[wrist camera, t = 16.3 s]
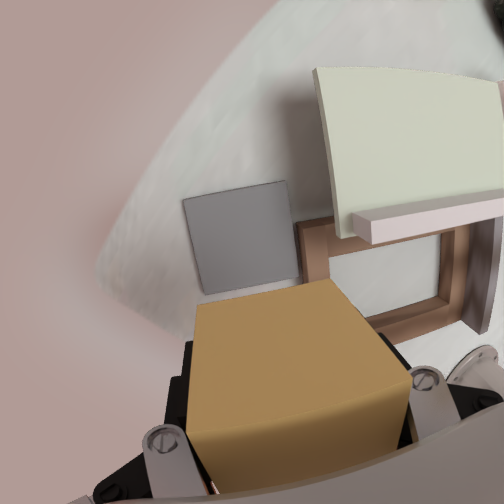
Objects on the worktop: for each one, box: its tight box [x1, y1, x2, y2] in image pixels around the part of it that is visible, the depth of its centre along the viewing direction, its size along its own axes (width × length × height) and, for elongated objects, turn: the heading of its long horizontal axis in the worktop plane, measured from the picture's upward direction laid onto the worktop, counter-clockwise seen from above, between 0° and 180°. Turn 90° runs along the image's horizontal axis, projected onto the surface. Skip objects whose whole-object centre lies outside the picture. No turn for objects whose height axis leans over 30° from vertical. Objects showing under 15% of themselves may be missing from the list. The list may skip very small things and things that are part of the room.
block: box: [186, 278, 413, 494], centre depth 9 cm, size 5×5×6 cm
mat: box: [183, 181, 299, 295], centre depth 28 cm, size 9×9×1 cm
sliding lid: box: [312, 67, 504, 245], centre depth 19 cm, size 12×19×4 cm, turn 100°
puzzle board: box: [296, 216, 503, 345], centre depth 28 cm, size 20×21×6 cm
